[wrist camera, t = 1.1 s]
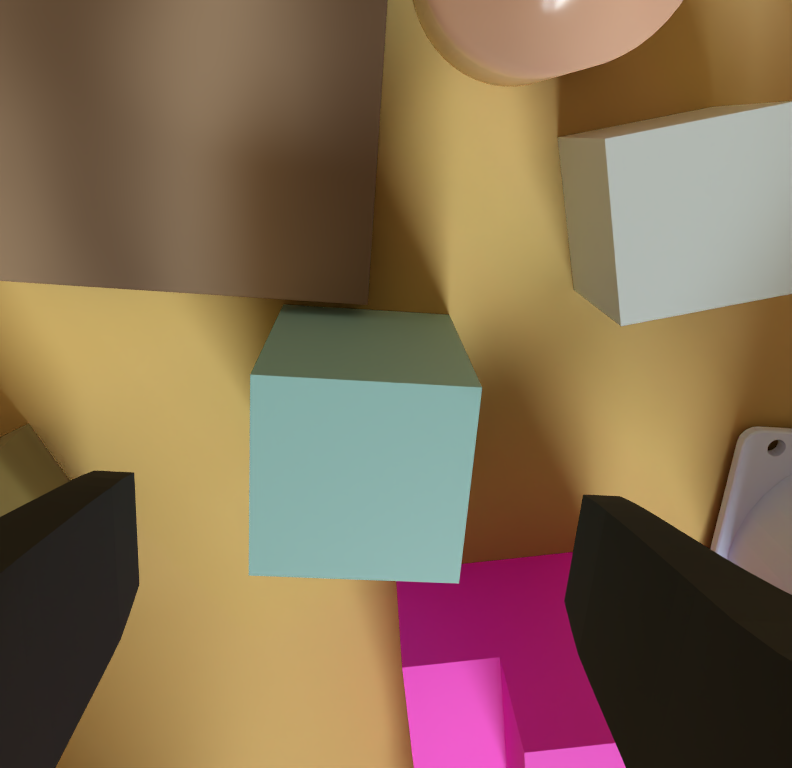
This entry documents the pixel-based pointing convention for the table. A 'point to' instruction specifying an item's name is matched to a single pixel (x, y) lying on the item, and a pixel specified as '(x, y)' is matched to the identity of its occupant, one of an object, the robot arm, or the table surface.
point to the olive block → (25, 469)
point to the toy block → (499, 671)
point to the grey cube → (681, 211)
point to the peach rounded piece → (537, 34)
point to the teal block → (361, 446)
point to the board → (191, 145)
